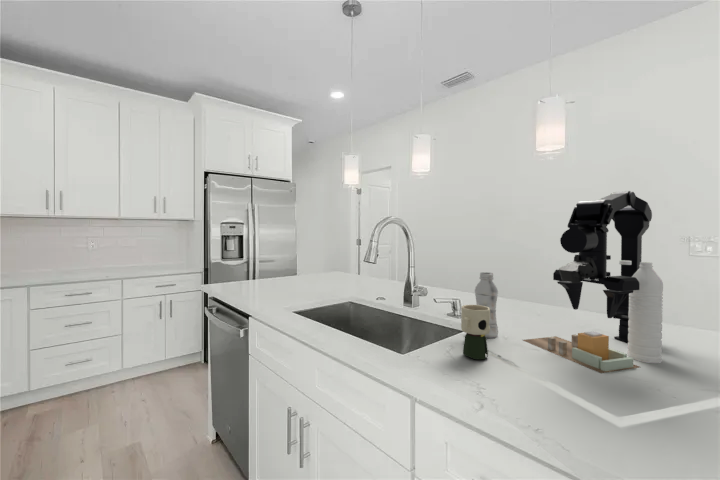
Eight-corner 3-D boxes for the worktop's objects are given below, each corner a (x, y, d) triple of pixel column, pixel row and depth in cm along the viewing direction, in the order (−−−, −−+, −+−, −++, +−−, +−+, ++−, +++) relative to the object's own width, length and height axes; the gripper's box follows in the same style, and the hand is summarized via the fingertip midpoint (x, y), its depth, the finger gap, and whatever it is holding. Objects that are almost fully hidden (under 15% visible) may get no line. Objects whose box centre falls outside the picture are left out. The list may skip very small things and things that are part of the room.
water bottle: (665, 364, 84) (667, 262, 83) (655, 370, 81) (658, 263, 80) (623, 353, 91) (624, 259, 91) (612, 358, 88) (614, 261, 87)
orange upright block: (593, 354, 87) (593, 329, 87) (608, 360, 83) (608, 334, 83) (577, 357, 86) (577, 331, 86) (592, 363, 82) (592, 336, 82)
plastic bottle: (500, 343, 100) (500, 274, 100) (475, 341, 102) (476, 274, 101) (496, 336, 107) (496, 272, 106) (473, 335, 108) (473, 271, 107)
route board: (555, 340, 103) (555, 326, 102) (640, 372, 79) (641, 354, 79) (522, 344, 99) (522, 329, 99) (600, 378, 76) (601, 359, 76)
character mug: (477, 366, 83) (477, 313, 83) (451, 358, 88) (451, 308, 88) (498, 355, 90) (498, 306, 90) (473, 348, 96) (473, 302, 95)
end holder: (598, 354, 88) (598, 344, 88) (633, 367, 79) (633, 356, 79) (571, 357, 85) (572, 347, 85) (604, 371, 77) (604, 360, 77)
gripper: (536, 249, 92) (536, 307, 92) (603, 254, 74) (603, 326, 75) (569, 248, 95) (569, 304, 96) (641, 253, 77) (640, 322, 78)
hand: (591, 313), depth 86 cm, fingers open, 9 cm apart
